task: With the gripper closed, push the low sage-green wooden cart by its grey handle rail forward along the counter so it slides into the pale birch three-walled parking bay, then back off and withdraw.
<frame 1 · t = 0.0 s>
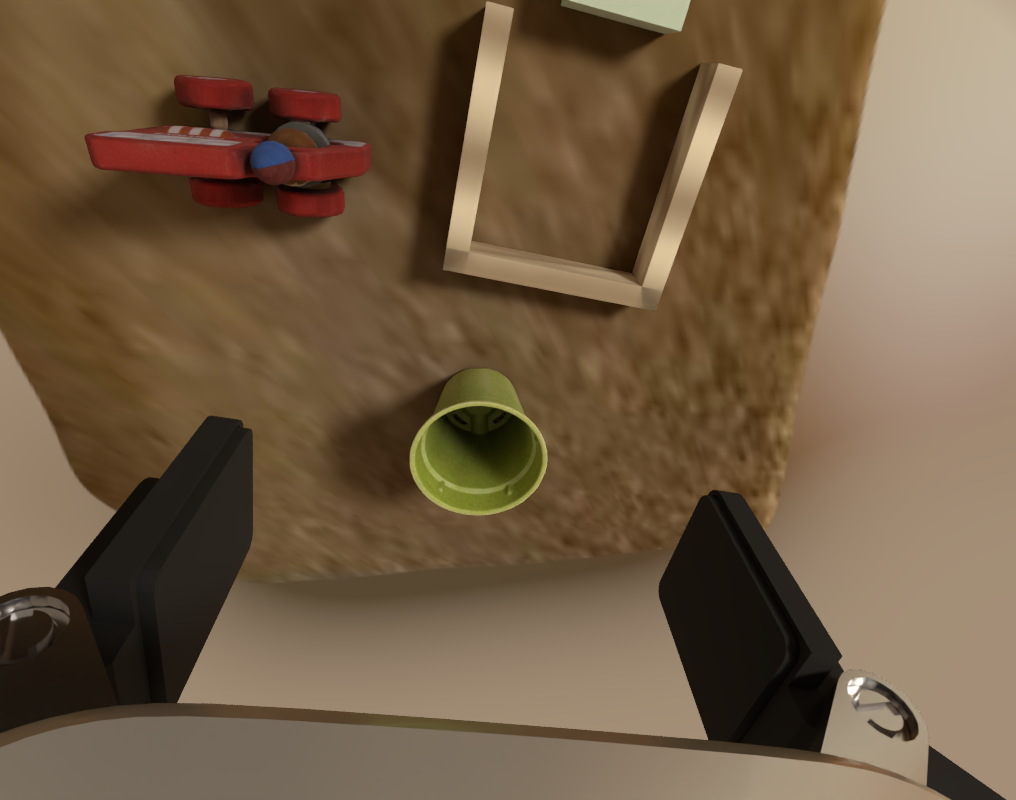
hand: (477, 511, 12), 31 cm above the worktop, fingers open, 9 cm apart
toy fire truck: (279, 144, 37), on the worktop
parking bay: (574, 169, 38), on the worktop
plant pot: (478, 397, 47), on the worktop
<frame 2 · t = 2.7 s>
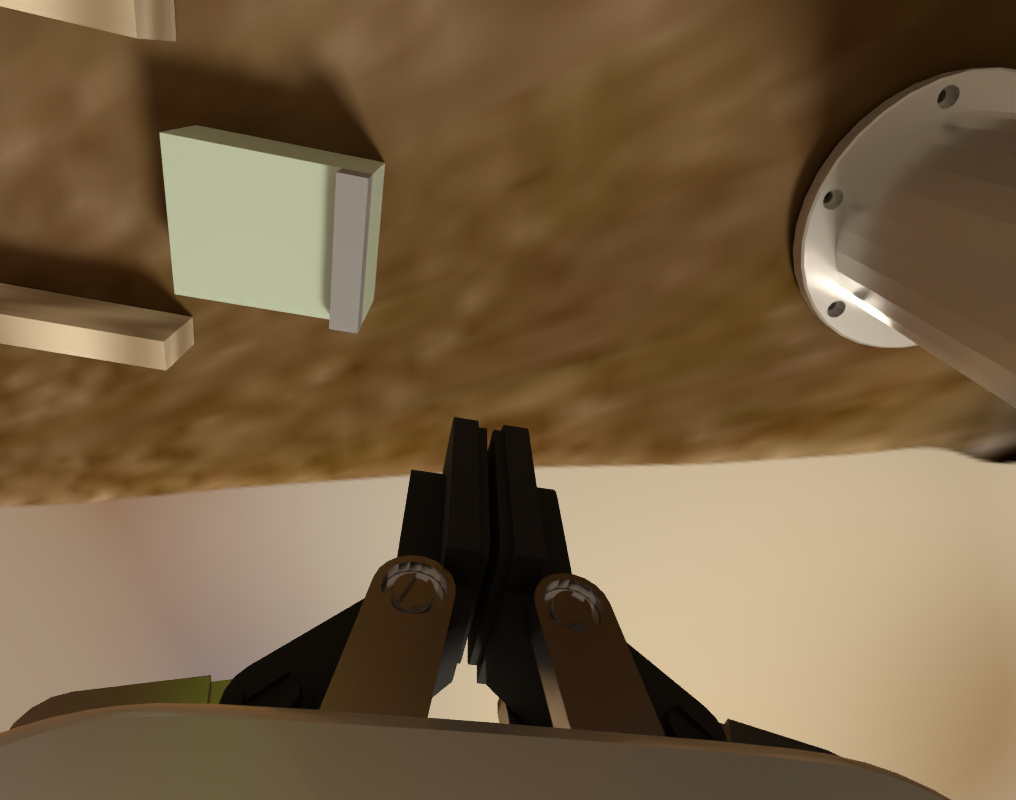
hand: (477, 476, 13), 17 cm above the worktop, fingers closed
parking bay: (3, 157, 25), on the worktop
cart: (293, 217, 27), on the worktop
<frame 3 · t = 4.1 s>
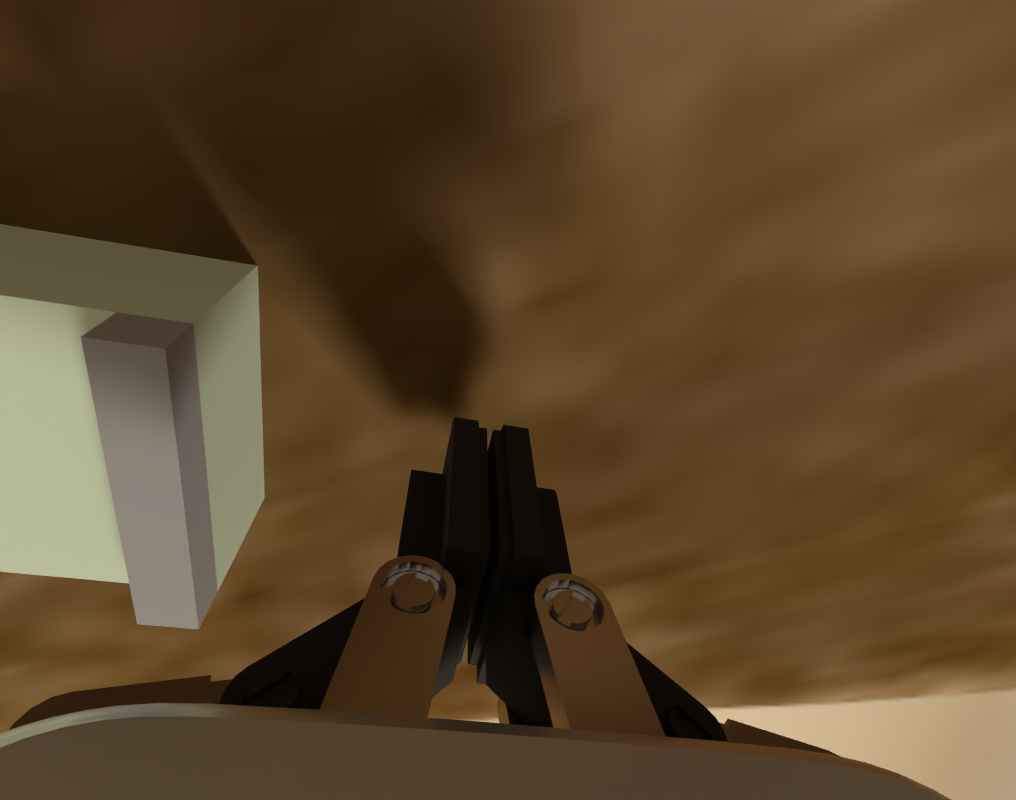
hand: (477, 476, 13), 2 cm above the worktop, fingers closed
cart: (91, 365, 14), on the worktop
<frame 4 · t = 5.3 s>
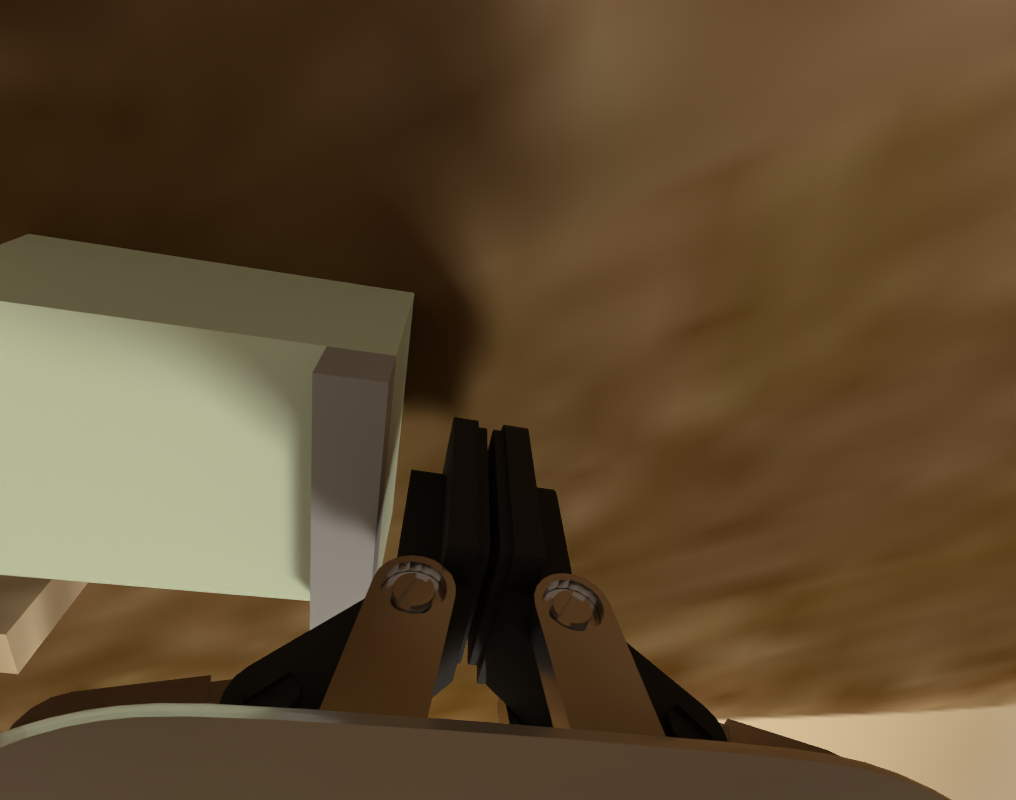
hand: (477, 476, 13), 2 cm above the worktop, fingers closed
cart: (240, 388, 14), on the worktop, touching gripper
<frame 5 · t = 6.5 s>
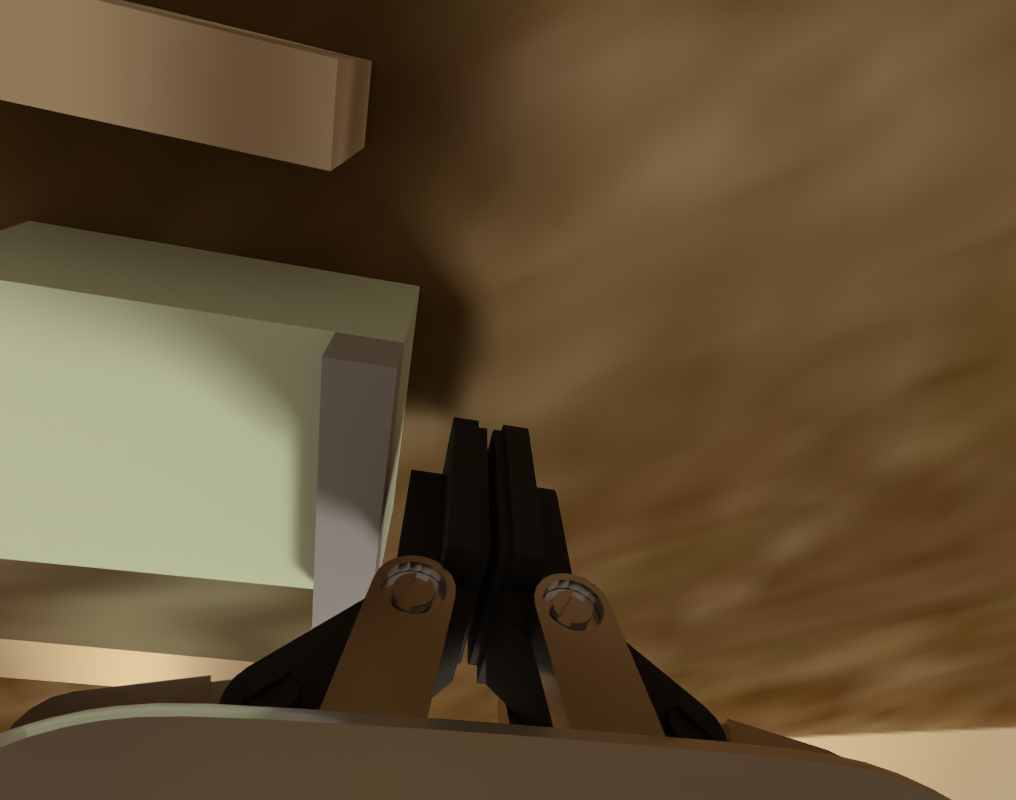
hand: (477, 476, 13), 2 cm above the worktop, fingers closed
parking bay: (7, 351, 13), on the worktop
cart: (245, 377, 14), on the worktop
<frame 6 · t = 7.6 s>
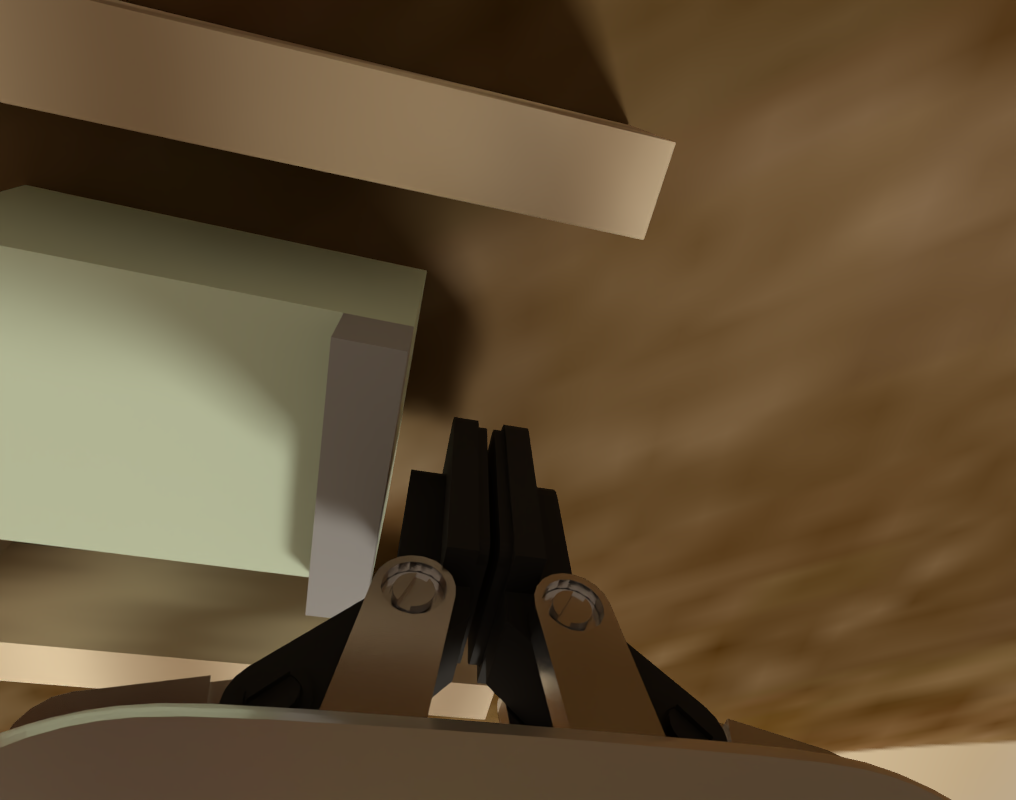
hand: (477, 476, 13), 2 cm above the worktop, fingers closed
parking bay: (237, 390, 14), on the worktop
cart: (241, 358, 14), on the worktop, touching gripper
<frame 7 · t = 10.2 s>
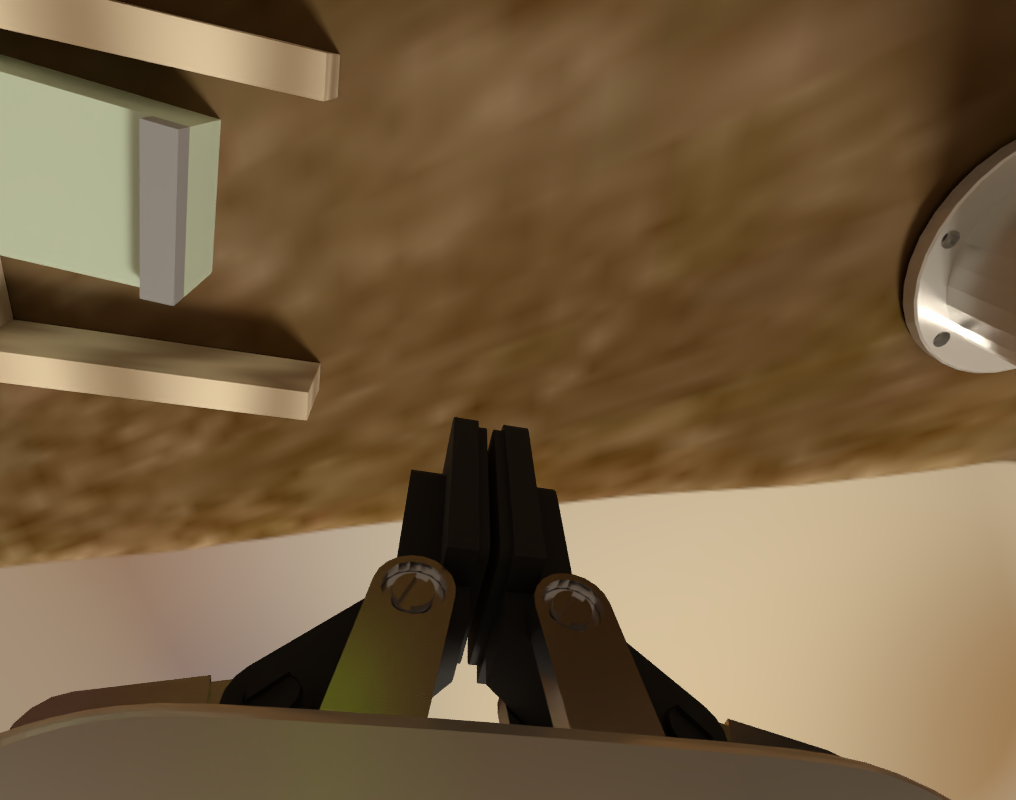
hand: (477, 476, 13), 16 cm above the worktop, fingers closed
parking bay: (145, 212, 24), on the worktop
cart: (115, 171, 24), on the worktop
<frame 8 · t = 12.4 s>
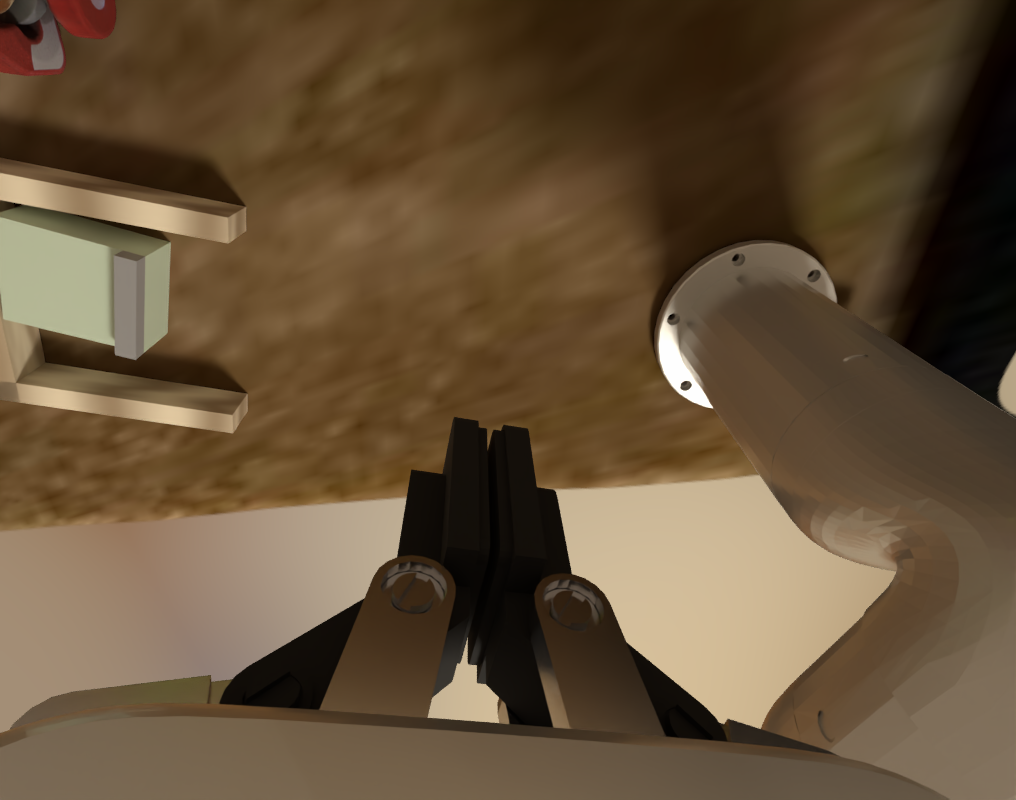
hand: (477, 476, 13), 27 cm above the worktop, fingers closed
parking bay: (128, 297, 38), on the worktop
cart: (105, 270, 37), on the worktop
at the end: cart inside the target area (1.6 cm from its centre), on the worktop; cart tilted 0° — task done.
